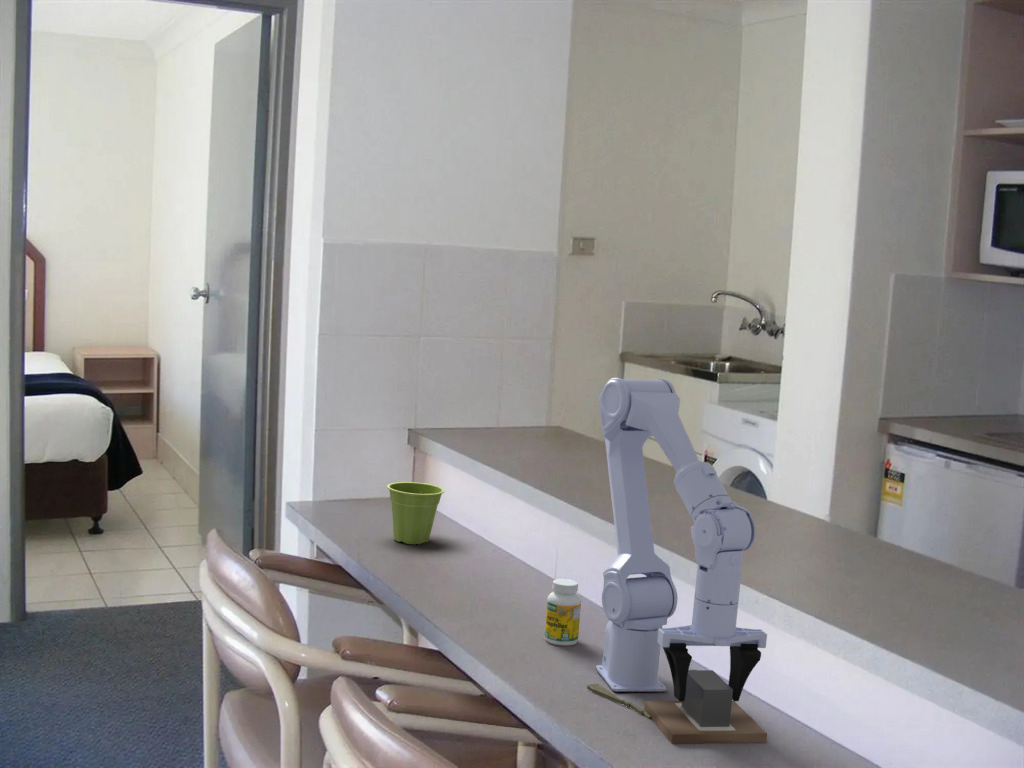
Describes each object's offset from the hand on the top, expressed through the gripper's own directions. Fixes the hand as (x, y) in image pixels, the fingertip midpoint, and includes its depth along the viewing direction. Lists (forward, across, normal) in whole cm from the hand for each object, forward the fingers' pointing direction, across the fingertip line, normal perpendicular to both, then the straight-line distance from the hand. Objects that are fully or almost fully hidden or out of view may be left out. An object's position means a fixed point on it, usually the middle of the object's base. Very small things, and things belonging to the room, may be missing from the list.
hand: (706, 698), depth 153 cm
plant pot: (+4, -27, +96) cm, 99 cm away
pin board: (+4, 0, 0) cm, 4 cm away
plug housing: (+2, 0, 0) cm, 2 cm away
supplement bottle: (+4, -11, +34) cm, 35 cm away
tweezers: (+4, -9, +8) cm, 13 cm away
